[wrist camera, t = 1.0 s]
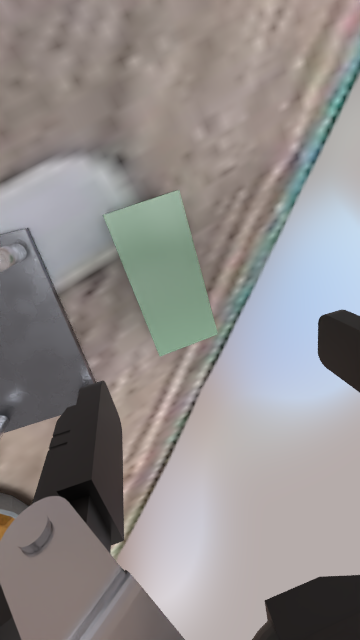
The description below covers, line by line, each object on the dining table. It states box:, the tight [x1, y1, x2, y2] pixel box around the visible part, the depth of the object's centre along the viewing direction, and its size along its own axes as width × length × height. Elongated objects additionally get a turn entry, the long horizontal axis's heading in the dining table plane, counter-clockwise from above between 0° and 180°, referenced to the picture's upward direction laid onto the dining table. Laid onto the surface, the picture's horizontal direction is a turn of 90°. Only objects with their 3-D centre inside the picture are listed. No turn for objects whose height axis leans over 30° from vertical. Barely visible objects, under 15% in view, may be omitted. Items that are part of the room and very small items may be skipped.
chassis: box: [0, 228, 96, 439], centre depth 22 cm, size 18×11×5 cm, turn 12°
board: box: [103, 190, 218, 356], centre depth 23 cm, size 12×6×5 cm, turn 17°
